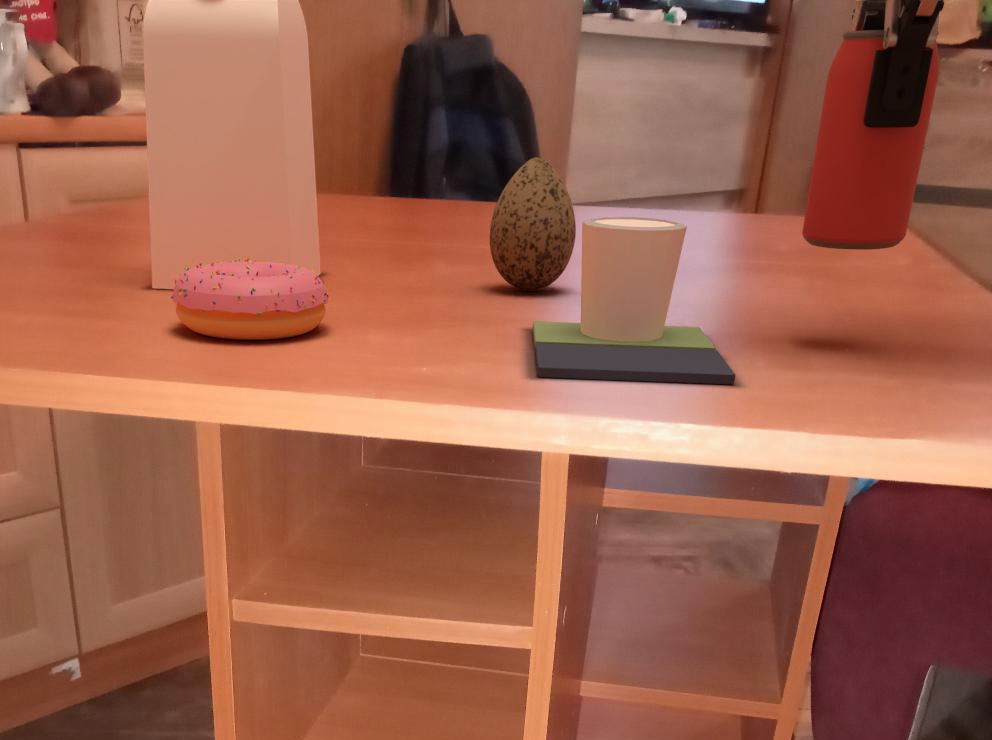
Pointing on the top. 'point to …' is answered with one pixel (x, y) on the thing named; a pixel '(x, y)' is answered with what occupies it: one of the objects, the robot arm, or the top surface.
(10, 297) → the top surface
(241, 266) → the doughnut
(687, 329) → the sage mat
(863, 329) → the top surface
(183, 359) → the top surface
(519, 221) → the decorative egg
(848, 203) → the beer can
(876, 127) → the robot arm
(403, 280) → the top surface
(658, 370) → the slate mat
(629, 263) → the cup
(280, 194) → the milk
